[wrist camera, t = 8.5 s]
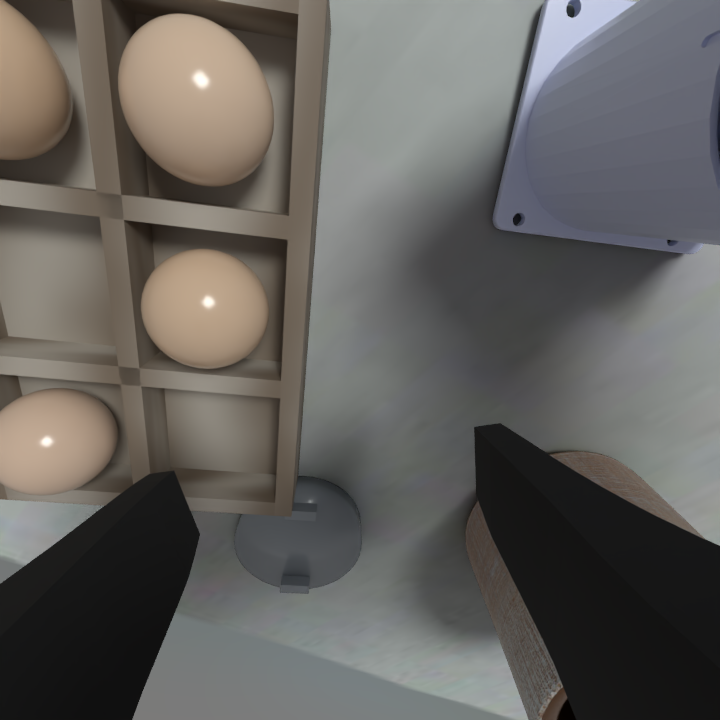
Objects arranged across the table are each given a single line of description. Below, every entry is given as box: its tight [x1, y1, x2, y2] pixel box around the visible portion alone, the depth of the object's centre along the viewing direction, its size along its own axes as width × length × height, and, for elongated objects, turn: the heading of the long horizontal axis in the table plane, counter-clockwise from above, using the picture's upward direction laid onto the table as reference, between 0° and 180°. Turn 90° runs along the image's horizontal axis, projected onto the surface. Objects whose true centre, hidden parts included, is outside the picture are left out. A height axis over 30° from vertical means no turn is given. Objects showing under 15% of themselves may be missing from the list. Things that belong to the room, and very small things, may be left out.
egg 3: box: [118, 13, 274, 187], centre depth 12 cm, size 4×4×4 cm
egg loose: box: [141, 249, 269, 369], centre depth 14 cm, size 4×4×4 cm
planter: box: [465, 451, 706, 720], centre depth 19 cm, size 11×11×10 cm
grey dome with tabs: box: [234, 476, 362, 594], centre depth 22 cm, size 7×7×2 cm
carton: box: [0, 0, 331, 517], centre depth 16 cm, size 14×20×3 cm
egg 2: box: [0, 388, 118, 496], centre depth 16 cm, size 4×4×4 cm
